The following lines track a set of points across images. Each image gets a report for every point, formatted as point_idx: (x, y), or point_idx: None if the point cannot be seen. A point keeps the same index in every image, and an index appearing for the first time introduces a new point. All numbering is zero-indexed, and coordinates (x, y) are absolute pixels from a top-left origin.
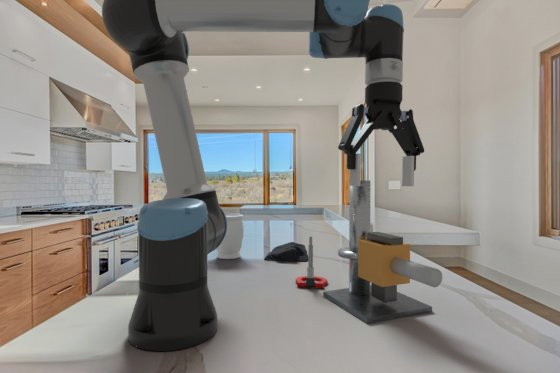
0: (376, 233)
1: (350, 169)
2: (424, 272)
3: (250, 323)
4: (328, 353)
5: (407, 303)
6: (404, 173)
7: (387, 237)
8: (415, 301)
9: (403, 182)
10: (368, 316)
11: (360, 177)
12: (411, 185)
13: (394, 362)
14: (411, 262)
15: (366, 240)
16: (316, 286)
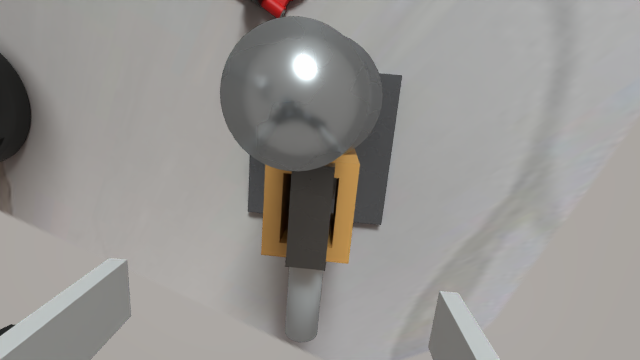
0: (306, 190)
1: (37, 316)
2: (286, 325)
3: (83, 125)
4: (154, 250)
5: (356, 194)
6: (463, 356)
7: (286, 253)
8: (377, 194)
9: (442, 311)
10: (254, 206)
11: (103, 345)
12: (431, 350)
13: (213, 297)
14: (300, 291)
15: (282, 172)
16: (265, 9)
